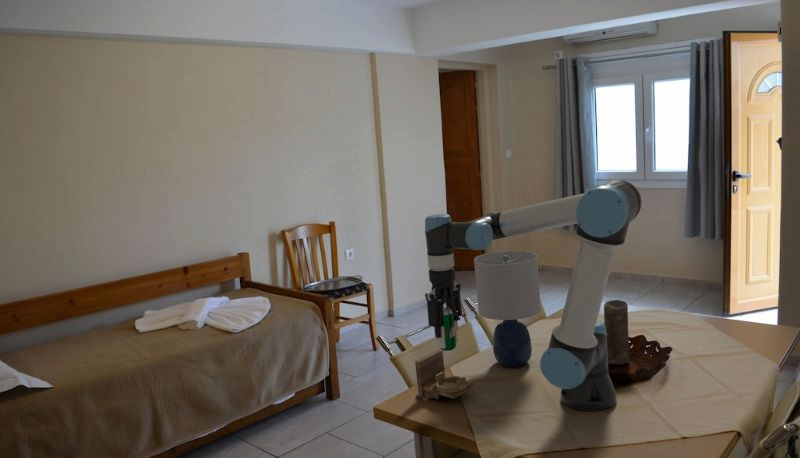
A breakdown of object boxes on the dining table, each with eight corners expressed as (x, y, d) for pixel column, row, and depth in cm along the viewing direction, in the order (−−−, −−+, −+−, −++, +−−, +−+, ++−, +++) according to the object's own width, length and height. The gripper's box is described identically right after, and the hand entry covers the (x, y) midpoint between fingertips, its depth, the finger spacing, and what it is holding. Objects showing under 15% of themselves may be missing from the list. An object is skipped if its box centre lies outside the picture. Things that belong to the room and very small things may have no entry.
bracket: (476, 395, 194) (472, 357, 192) (453, 409, 186) (449, 369, 185) (439, 385, 204) (435, 349, 202) (415, 398, 196) (412, 360, 195)
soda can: (455, 351, 188) (452, 311, 186) (438, 351, 189) (434, 312, 187) (457, 345, 193) (454, 306, 191) (440, 345, 194) (437, 306, 192)
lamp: (470, 366, 217) (461, 259, 212) (508, 348, 231) (500, 247, 225) (519, 379, 202) (510, 265, 197) (556, 359, 216) (549, 251, 210)
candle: (632, 360, 209) (629, 300, 206) (627, 368, 203) (624, 307, 199) (608, 357, 213) (605, 299, 210) (602, 365, 207) (599, 305, 204)
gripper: (451, 260, 196) (456, 333, 200) (410, 273, 183) (417, 351, 187) (470, 262, 191) (476, 337, 195) (430, 276, 178) (437, 356, 182)
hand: (447, 344), depth 191 cm, fingers closed on soda can, 5 cm apart
